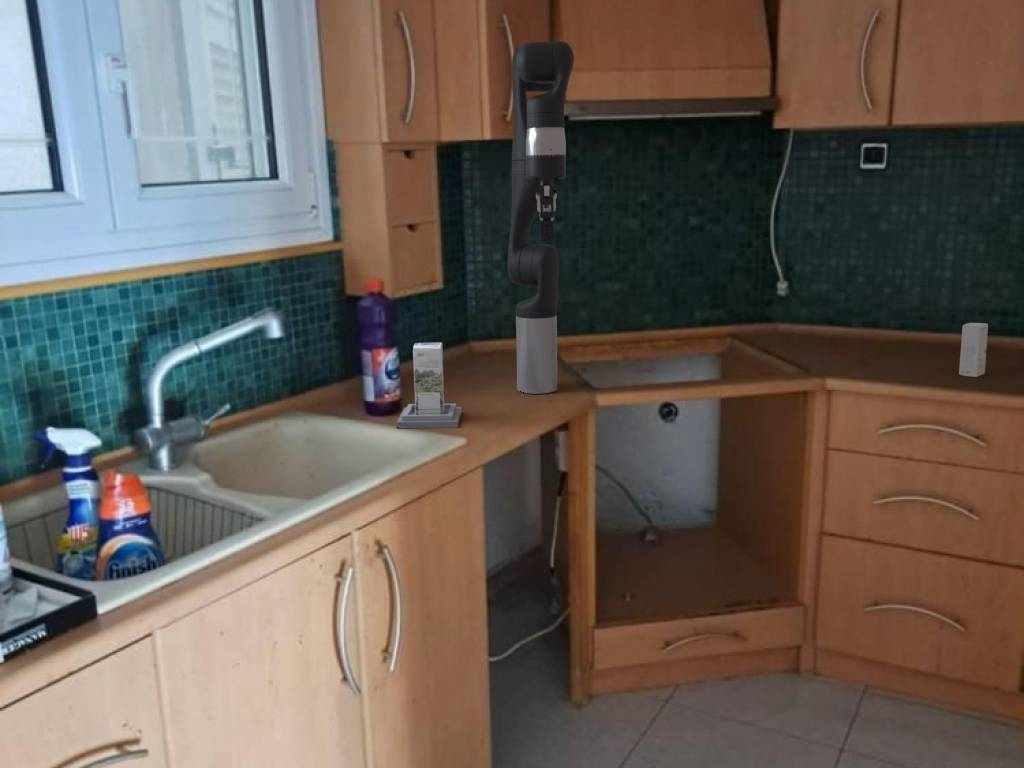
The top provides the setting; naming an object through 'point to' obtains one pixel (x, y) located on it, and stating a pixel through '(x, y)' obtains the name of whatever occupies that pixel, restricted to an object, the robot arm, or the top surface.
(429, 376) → the syrup box
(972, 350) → the skincare box
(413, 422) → the base plate
